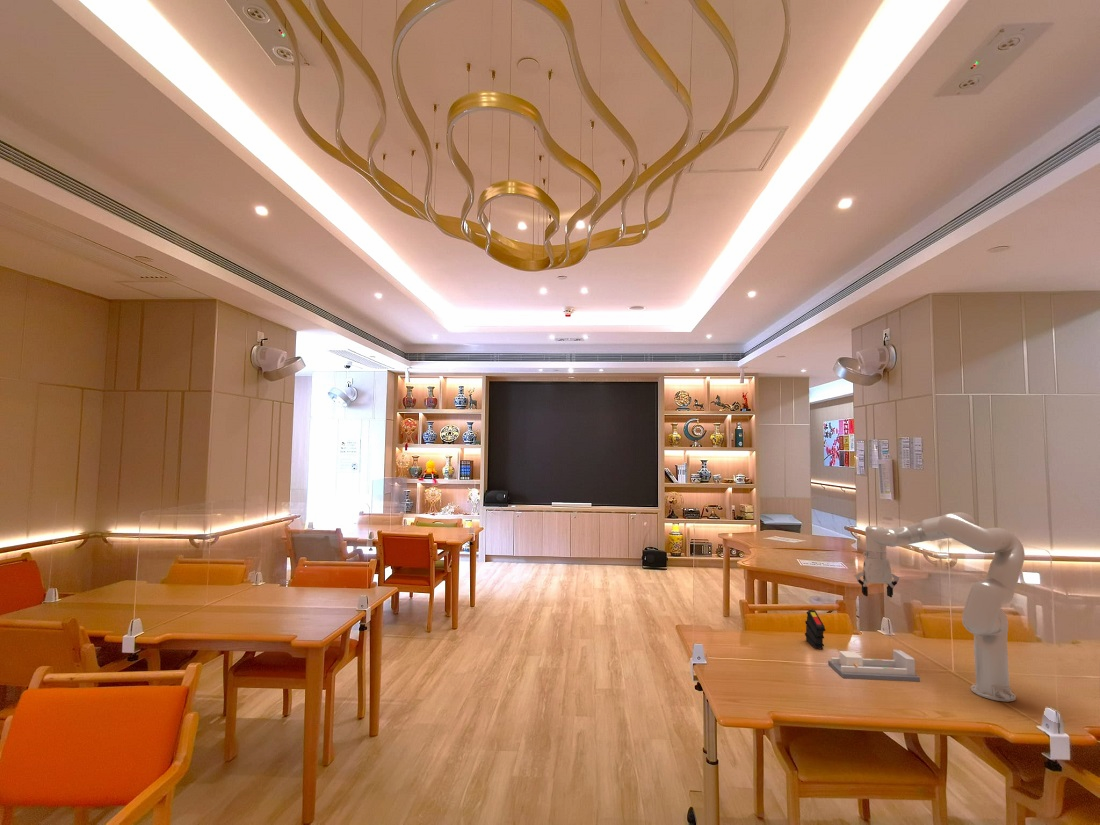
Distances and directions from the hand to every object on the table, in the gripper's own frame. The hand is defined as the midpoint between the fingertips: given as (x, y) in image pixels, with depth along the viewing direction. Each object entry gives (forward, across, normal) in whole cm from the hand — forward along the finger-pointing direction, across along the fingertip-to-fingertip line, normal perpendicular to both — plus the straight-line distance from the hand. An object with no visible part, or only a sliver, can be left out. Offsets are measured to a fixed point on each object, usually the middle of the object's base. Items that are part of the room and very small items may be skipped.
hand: (877, 596), depth 233 cm
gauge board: (+26, -9, -16) cm, 32 cm away
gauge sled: (+24, -17, -16) cm, 34 cm away
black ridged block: (+27, -22, +12) cm, 36 cm away
